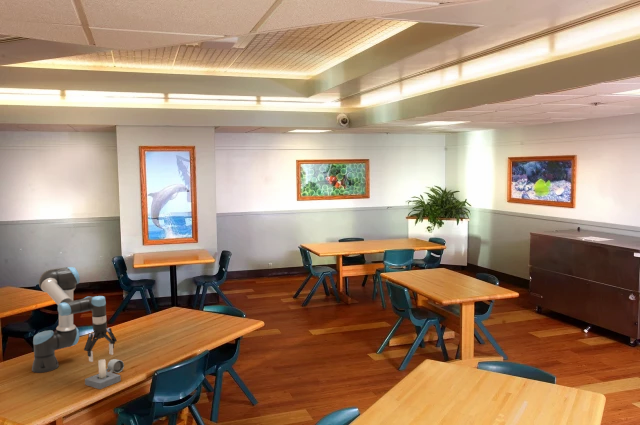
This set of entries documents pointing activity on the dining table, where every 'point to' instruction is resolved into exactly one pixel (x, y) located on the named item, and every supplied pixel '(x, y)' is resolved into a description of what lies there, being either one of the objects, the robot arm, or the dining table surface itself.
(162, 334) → the dining table surface
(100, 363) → the dowel pin
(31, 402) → the dining table surface
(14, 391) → the dining table surface
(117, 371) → the ceramic mug
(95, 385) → the bore block
